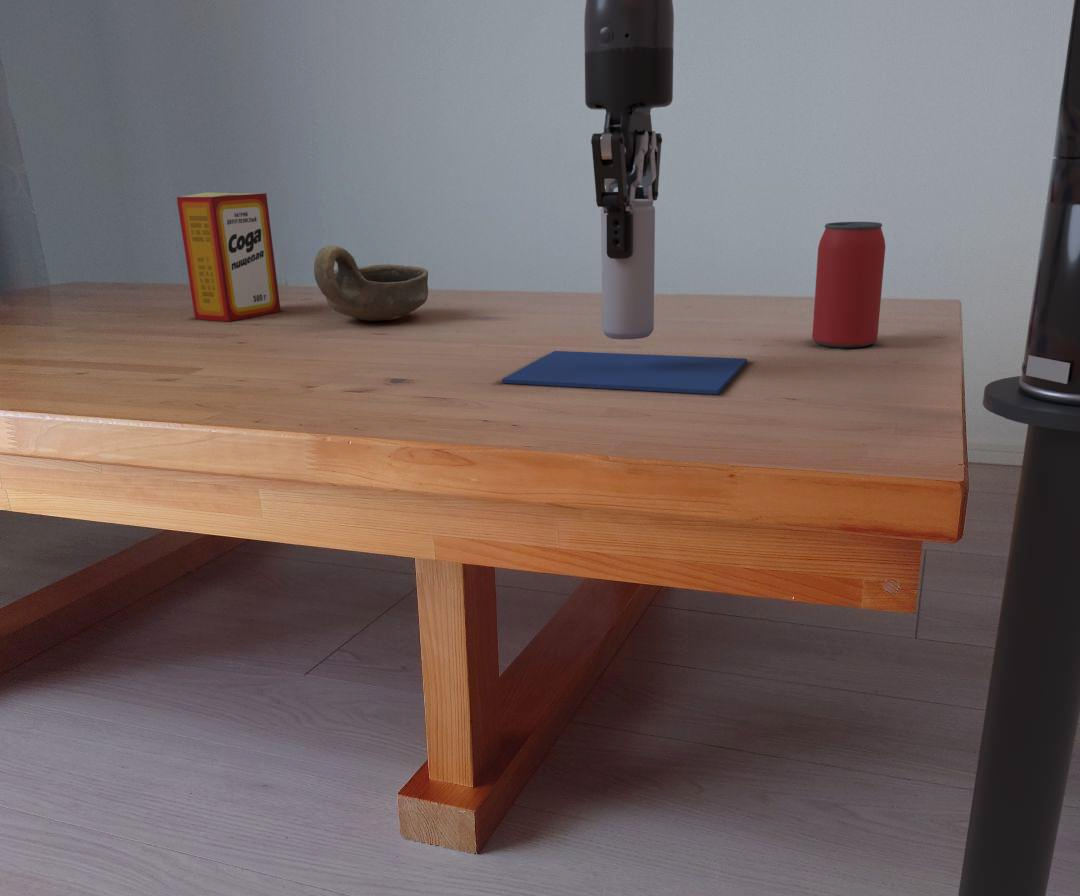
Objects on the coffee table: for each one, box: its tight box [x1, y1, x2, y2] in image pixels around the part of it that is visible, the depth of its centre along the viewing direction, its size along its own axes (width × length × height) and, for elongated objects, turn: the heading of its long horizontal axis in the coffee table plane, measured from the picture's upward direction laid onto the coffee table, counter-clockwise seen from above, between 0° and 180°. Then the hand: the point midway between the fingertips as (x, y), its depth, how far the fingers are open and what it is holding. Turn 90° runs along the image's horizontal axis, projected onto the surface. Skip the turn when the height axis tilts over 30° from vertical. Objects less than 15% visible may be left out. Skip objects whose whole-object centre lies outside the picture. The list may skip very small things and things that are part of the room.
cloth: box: [501, 350, 748, 395], centre depth 95 cm, size 20×14×1 cm
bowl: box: [313, 245, 429, 322], centre depth 128 cm, size 14×18×10 cm
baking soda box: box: [176, 192, 281, 322], centre depth 136 cm, size 10×6×16 cm
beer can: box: [811, 221, 886, 349], centre depth 103 cm, size 7×7×12 cm
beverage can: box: [600, 199, 656, 340], centre depth 92 cm, size 5×5×12 cm
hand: (628, 254), depth 91 cm, fingers closed on beverage can, 5 cm apart
